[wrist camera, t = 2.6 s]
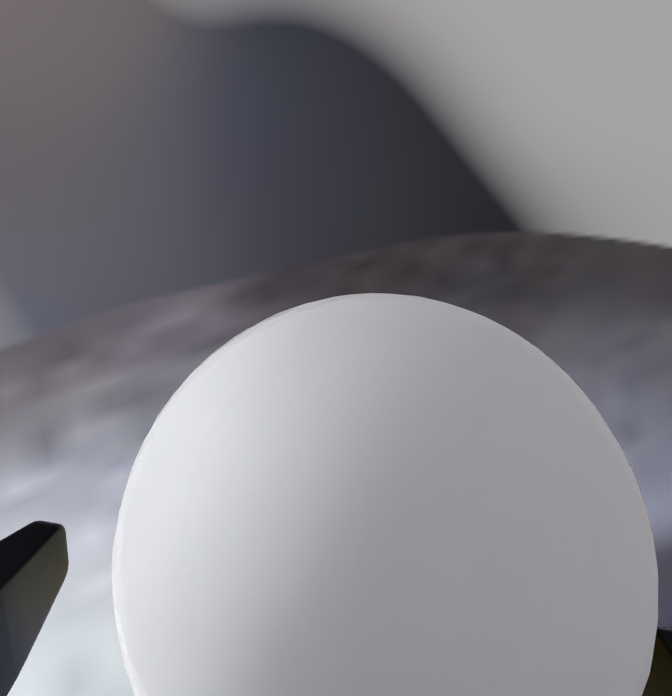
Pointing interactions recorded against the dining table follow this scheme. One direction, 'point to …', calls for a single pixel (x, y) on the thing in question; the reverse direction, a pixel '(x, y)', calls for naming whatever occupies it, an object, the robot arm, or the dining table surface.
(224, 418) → the supplement bottle
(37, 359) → the dining table surface
